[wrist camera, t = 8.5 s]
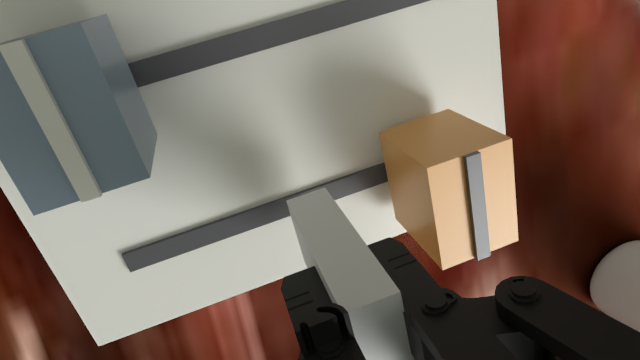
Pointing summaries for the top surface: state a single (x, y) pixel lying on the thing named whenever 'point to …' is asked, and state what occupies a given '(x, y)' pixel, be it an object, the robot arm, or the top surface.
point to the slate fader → (71, 116)
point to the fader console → (251, 137)
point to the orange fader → (452, 186)
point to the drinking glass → (619, 284)
